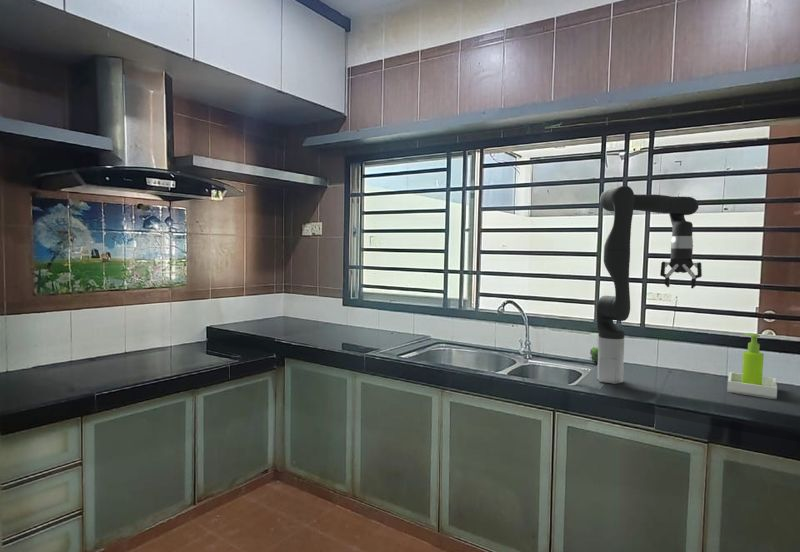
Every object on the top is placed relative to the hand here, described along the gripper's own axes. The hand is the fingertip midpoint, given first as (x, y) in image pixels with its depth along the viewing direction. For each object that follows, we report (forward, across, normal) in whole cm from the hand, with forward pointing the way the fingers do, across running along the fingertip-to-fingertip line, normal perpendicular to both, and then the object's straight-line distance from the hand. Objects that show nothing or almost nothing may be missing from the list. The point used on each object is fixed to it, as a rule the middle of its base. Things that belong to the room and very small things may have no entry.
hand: (680, 287), depth 191 cm
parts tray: (+36, +24, -7) cm, 44 cm away
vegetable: (+36, -32, +8) cm, 49 cm away
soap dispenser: (+36, +24, -7) cm, 43 cm away
